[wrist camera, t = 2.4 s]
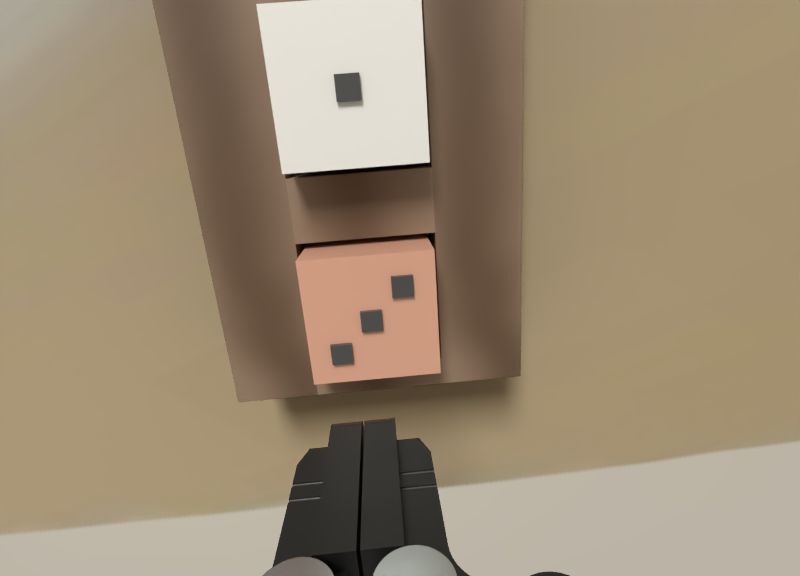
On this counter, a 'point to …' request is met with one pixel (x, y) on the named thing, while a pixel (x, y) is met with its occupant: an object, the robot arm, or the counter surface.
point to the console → (355, 191)
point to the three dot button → (370, 308)
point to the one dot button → (346, 83)
